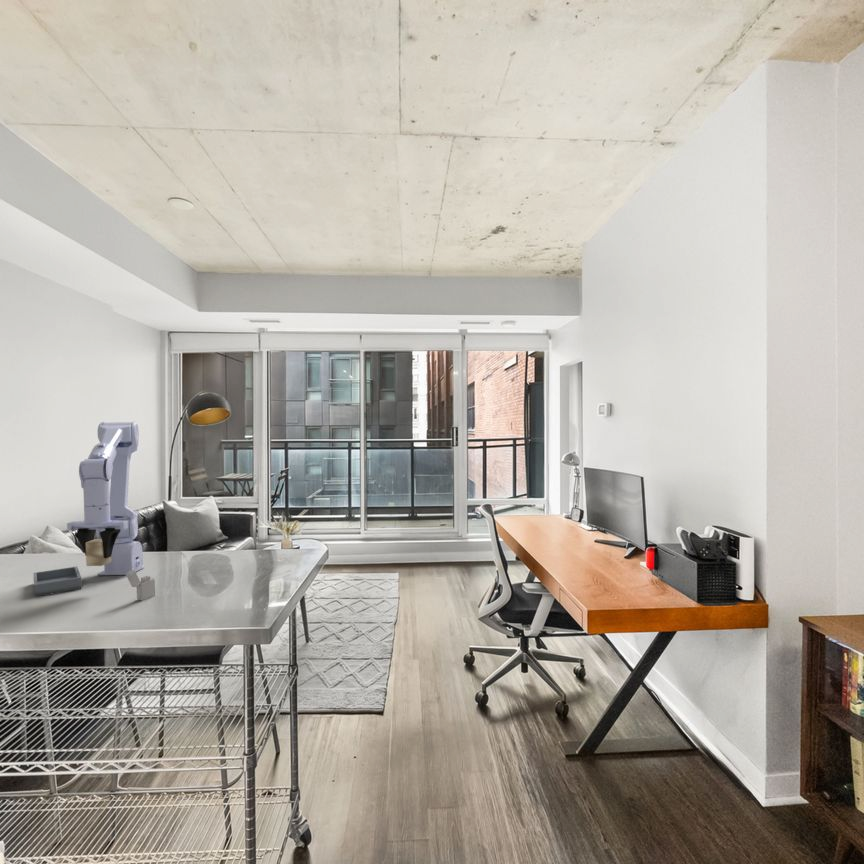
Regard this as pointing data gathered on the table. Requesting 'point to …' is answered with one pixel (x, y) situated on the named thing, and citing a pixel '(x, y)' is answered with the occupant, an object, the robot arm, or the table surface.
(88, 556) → the block
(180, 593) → the table surface
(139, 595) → the lighter
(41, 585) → the tray
